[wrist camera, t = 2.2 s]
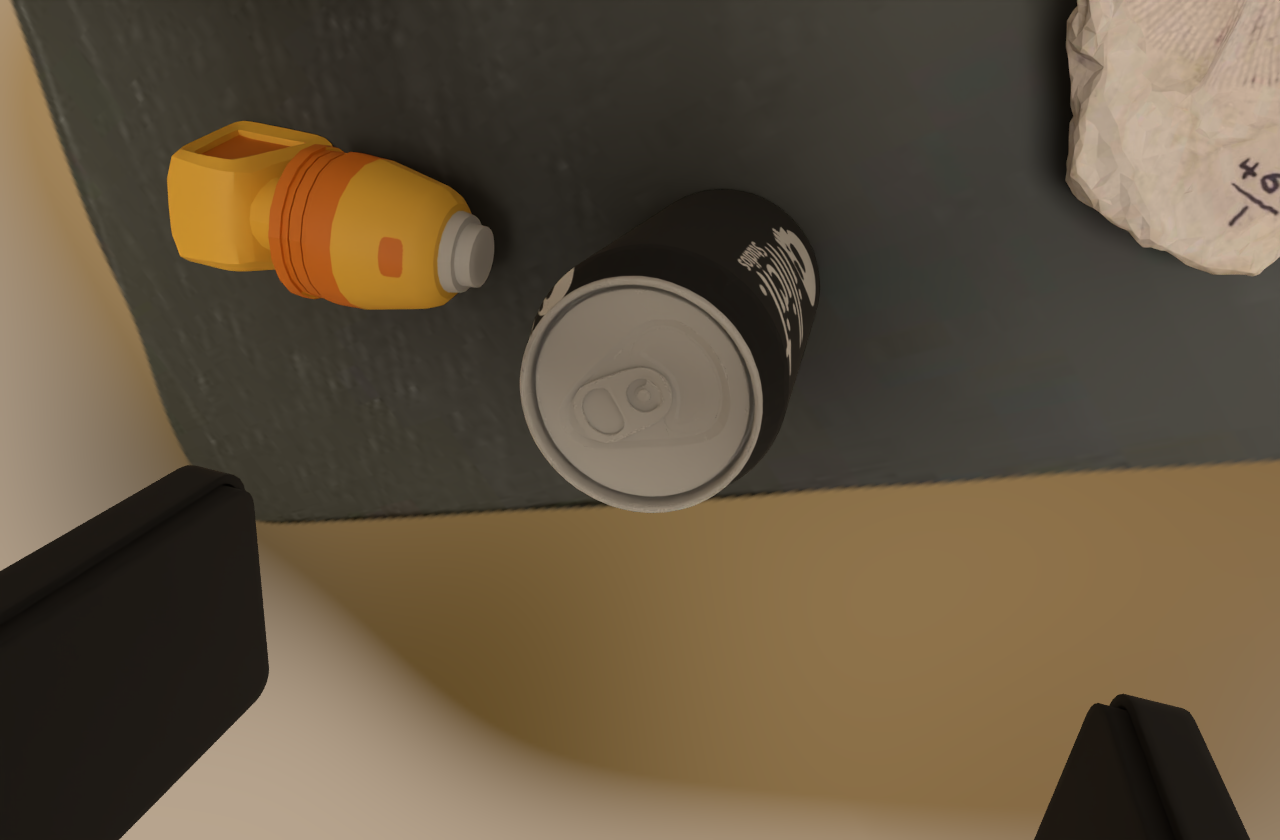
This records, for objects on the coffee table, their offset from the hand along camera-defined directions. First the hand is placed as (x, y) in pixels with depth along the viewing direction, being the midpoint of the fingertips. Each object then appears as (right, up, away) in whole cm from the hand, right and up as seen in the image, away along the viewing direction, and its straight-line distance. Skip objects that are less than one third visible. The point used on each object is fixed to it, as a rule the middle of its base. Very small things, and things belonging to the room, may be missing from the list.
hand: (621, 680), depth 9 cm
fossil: (+16, +13, +15) cm, 26 cm away
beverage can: (+3, +8, +21) cm, 23 cm away
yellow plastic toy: (-10, +11, +24) cm, 28 cm away
